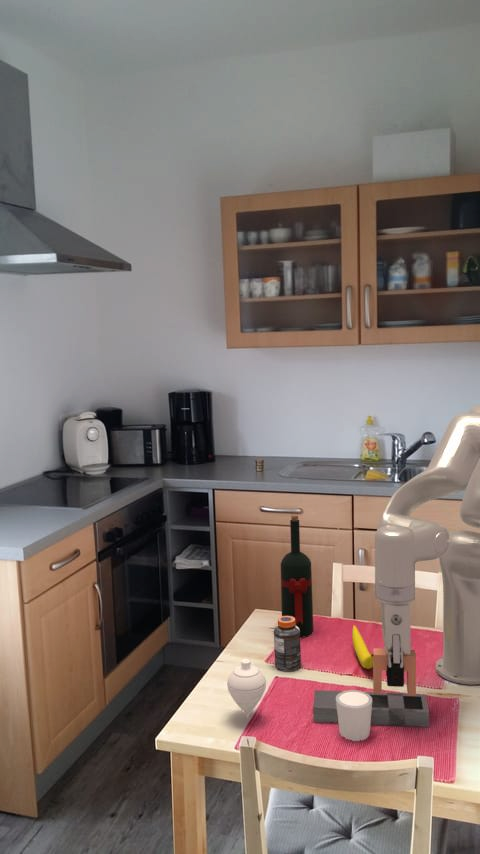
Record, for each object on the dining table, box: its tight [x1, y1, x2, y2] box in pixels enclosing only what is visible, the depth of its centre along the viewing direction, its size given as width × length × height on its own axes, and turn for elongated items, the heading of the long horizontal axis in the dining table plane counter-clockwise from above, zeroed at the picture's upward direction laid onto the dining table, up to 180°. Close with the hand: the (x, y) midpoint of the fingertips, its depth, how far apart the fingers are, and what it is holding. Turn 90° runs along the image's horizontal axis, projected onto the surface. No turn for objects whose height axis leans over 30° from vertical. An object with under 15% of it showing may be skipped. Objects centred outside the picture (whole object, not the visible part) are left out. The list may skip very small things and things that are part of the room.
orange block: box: [372, 647, 417, 696], centre depth 147 cm, size 8×3×8 cm, turn 81°
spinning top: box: [226, 658, 267, 719], centre depth 149 cm, size 8×8×12 cm
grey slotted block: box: [312, 689, 430, 728], centre depth 149 cm, size 22×7×3 cm, turn 81°
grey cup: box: [336, 689, 372, 742], centre depth 142 cm, size 7×7×7 cm
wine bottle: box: [280, 514, 314, 638], centre depth 187 cm, size 8×10×30 cm
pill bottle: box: [273, 615, 302, 672], centre depth 170 cm, size 6×6×11 cm
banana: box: [351, 624, 373, 670], centre depth 171 cm, size 3×19×6 cm, turn 4°
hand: (394, 680), depth 147 cm, fingers closed on orange block, 3 cm apart
